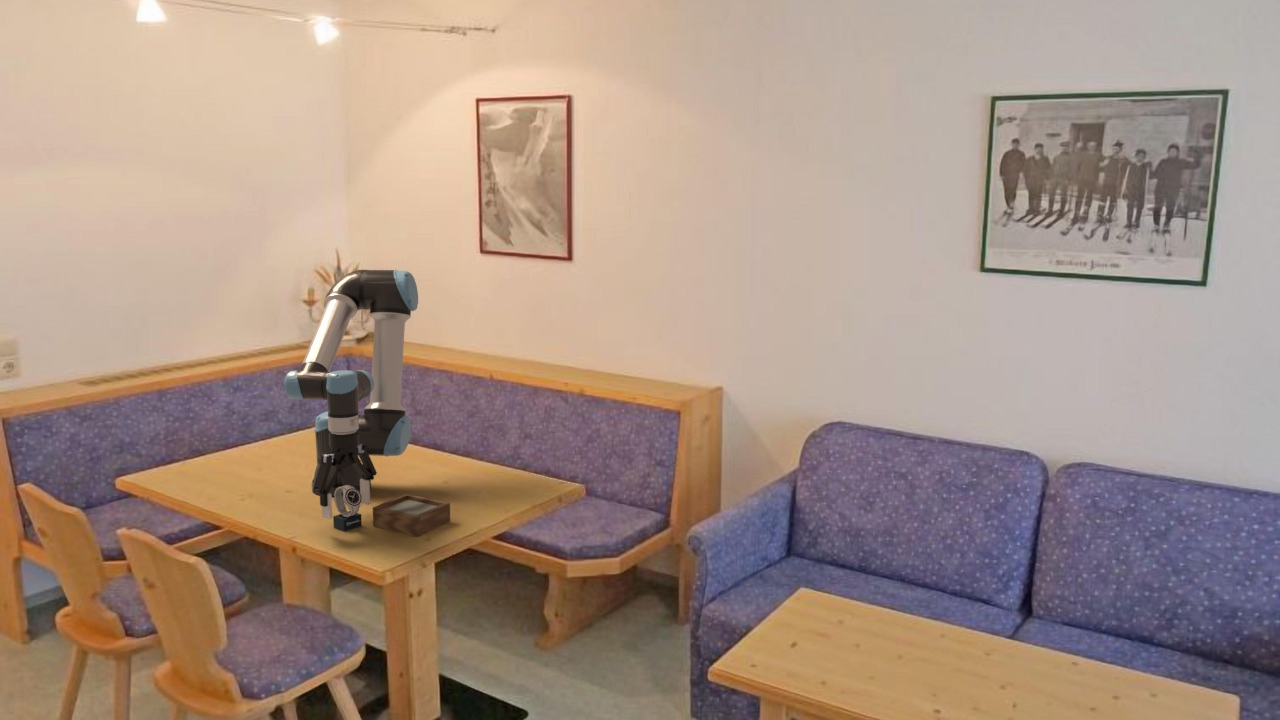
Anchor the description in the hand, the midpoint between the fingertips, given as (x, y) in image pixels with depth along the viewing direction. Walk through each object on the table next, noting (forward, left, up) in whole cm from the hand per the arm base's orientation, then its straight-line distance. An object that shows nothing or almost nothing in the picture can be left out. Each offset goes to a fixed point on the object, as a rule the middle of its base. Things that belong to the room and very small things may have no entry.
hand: (346, 510), depth 260 cm
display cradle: (+13, +10, -5) cm, 17 cm away
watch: (0, 0, -5) cm, 5 cm away
